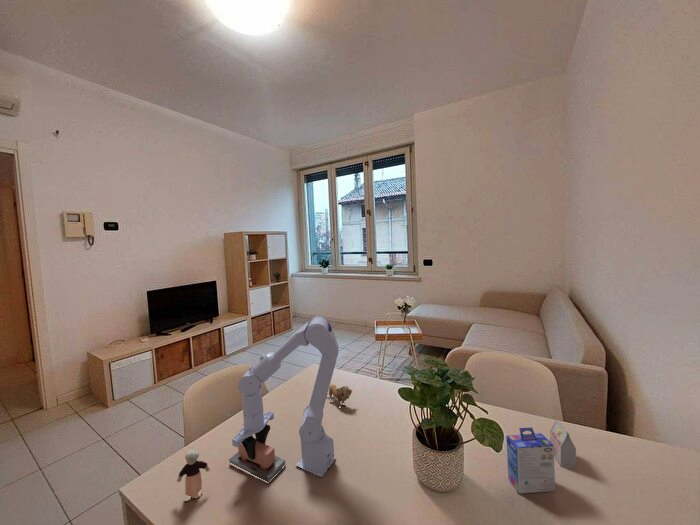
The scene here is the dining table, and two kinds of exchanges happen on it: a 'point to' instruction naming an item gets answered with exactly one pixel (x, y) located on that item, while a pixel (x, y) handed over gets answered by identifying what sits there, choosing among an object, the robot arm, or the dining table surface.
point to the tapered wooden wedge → (259, 455)
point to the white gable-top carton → (563, 446)
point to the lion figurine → (340, 393)
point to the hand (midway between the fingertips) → (256, 454)
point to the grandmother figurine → (192, 473)
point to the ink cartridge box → (530, 462)
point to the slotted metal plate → (258, 467)
